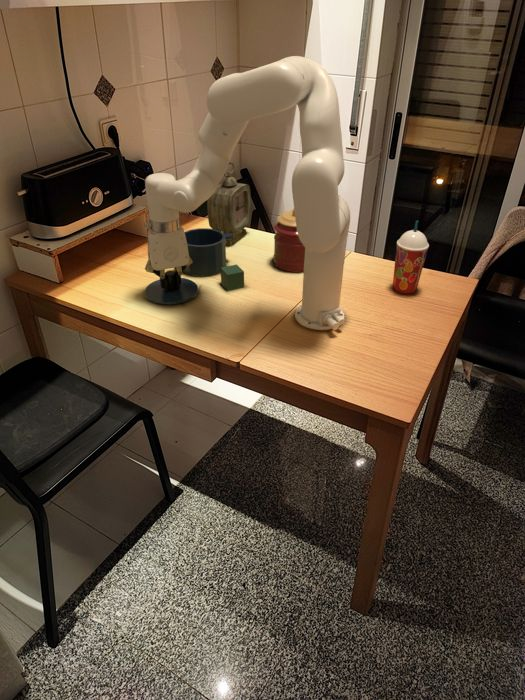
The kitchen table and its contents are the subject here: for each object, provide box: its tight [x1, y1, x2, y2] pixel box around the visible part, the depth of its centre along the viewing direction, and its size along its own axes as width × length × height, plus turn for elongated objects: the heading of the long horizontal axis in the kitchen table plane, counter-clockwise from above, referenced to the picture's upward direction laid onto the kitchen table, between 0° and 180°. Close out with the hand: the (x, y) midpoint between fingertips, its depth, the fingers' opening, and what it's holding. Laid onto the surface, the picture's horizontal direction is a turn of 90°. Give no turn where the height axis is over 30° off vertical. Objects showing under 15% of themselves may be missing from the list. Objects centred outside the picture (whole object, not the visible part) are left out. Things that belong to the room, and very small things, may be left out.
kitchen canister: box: [273, 208, 305, 273], centre depth 155 cm, size 13×13×18 cm
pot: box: [182, 227, 234, 278], centre depth 155 cm, size 14×19×10 cm
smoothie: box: [392, 220, 430, 294], centre depth 141 cm, size 8×8×20 cm
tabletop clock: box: [206, 161, 252, 246], centre depth 169 cm, size 14×9×25 cm, turn 155°
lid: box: [144, 270, 199, 305], centre depth 142 cm, size 15×15×6 cm
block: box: [220, 264, 245, 292], centre depth 146 cm, size 5×5×5 cm
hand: (171, 287), depth 142 cm, fingers closed on lid, 2 cm apart
